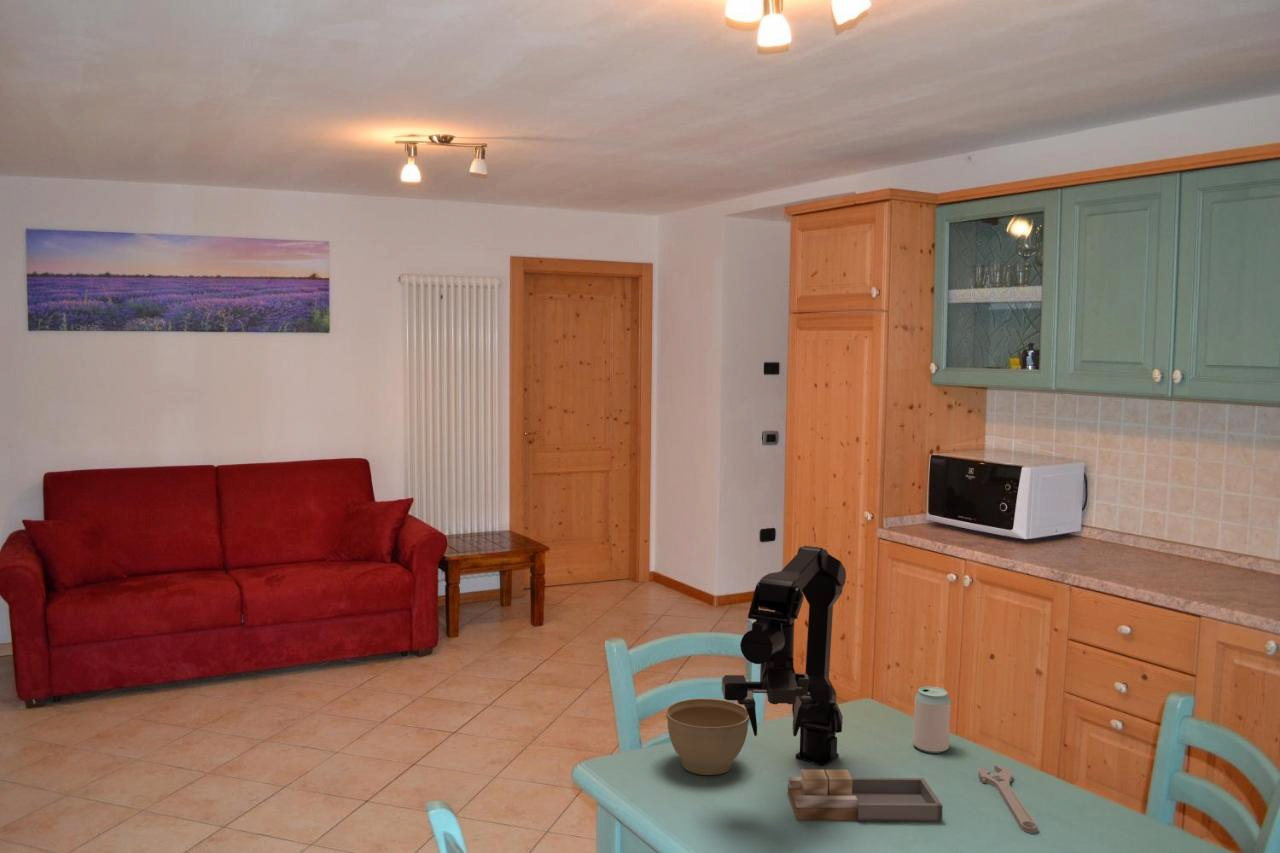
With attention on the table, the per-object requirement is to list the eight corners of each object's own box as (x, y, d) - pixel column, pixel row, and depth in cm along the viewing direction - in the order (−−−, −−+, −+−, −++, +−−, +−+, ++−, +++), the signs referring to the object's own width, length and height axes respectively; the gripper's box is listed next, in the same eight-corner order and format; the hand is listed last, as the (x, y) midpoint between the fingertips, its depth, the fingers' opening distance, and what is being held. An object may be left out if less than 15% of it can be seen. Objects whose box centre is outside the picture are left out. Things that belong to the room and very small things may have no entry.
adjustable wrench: (1040, 837, 168) (1040, 827, 168) (1000, 834, 169) (1000, 824, 169) (1008, 774, 193) (1009, 765, 193) (974, 771, 194) (974, 763, 194)
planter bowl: (765, 766, 194) (766, 711, 193) (712, 792, 183) (714, 734, 182) (701, 743, 205) (702, 691, 204) (648, 766, 193) (649, 711, 193)
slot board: (797, 820, 172) (797, 800, 172) (787, 794, 182) (788, 775, 182) (857, 820, 172) (858, 800, 172) (844, 794, 182) (845, 776, 182)
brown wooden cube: (804, 801, 175) (805, 779, 175) (800, 791, 179) (801, 769, 179) (827, 801, 175) (828, 779, 175) (822, 791, 179) (823, 769, 179)
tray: (858, 821, 172) (858, 805, 171) (844, 793, 183) (844, 777, 182) (941, 822, 172) (942, 805, 172) (922, 793, 183) (923, 778, 183)
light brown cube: (829, 801, 175) (829, 779, 175) (824, 791, 179) (825, 769, 179) (851, 801, 175) (852, 779, 175) (846, 791, 179) (847, 769, 179)
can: (914, 753, 201) (917, 695, 200) (911, 739, 208) (913, 683, 207) (951, 756, 200) (953, 697, 199) (946, 742, 207) (948, 686, 206)
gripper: (728, 662, 166) (726, 753, 168) (840, 663, 167) (837, 754, 168) (722, 643, 178) (720, 728, 179) (826, 644, 178) (824, 729, 179)
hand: (774, 735), depth 176 cm, fingers open, 7 cm apart
